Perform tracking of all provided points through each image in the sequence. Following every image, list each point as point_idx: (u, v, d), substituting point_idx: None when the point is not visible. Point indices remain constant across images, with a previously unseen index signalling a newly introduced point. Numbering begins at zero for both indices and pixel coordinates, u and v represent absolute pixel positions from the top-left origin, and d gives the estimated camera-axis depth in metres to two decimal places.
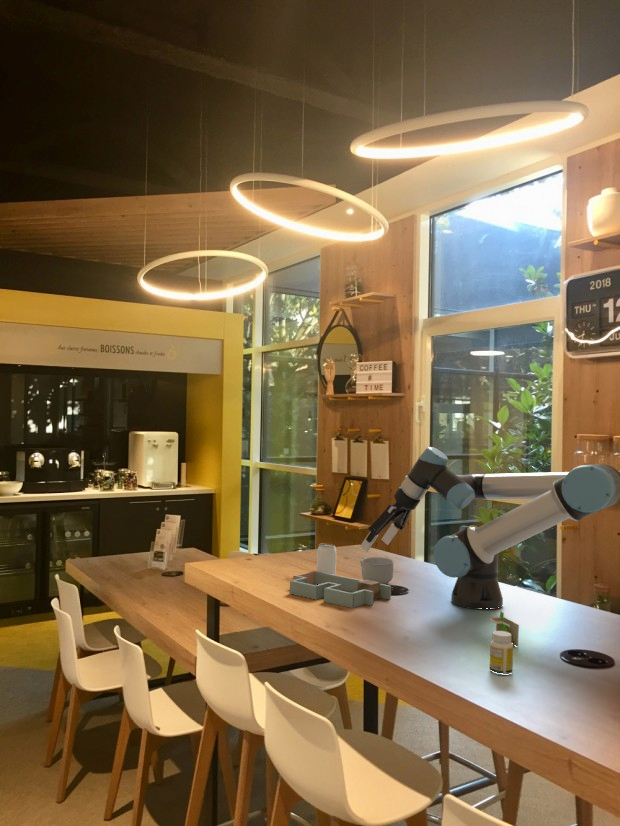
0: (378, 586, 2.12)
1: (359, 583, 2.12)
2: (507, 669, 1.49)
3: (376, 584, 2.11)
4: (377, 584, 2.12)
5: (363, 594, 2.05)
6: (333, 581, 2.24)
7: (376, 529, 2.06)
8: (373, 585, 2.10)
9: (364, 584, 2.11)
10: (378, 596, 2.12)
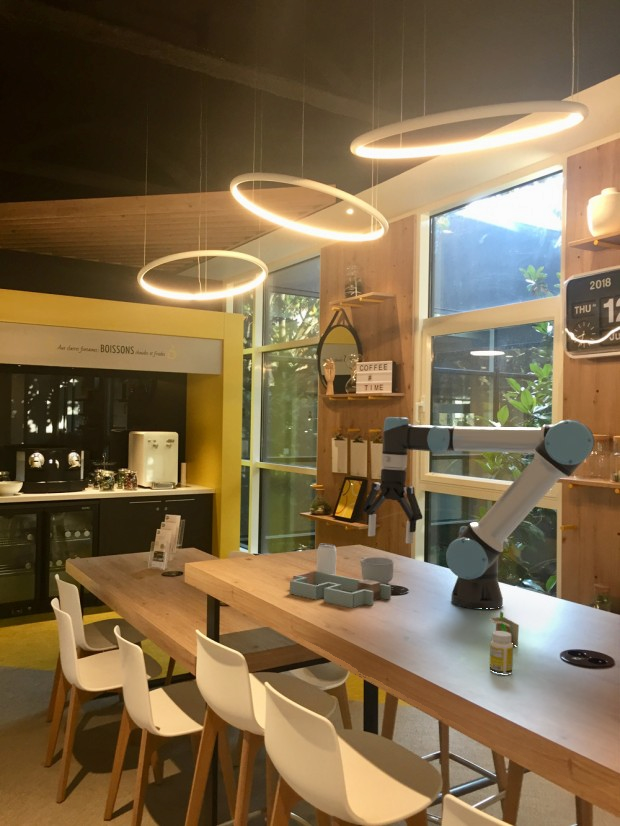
0: (378, 586, 2.12)
1: (359, 583, 2.12)
2: (507, 669, 1.49)
3: (376, 584, 2.11)
4: (377, 584, 2.12)
5: (363, 594, 2.05)
6: (333, 581, 2.24)
7: (420, 513, 2.03)
8: (373, 585, 2.10)
9: (364, 584, 2.11)
10: (378, 596, 2.12)
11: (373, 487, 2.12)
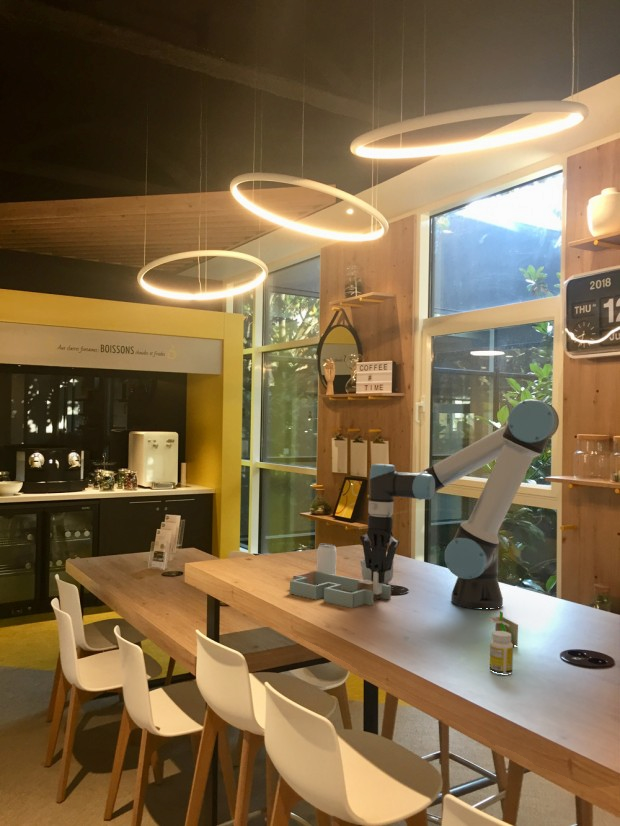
0: None
1: (359, 583, 2.12)
2: (507, 669, 1.49)
3: None
4: None
5: (363, 594, 2.05)
6: (333, 581, 2.24)
7: (390, 566, 2.09)
8: None
9: (364, 584, 2.11)
10: (378, 596, 2.12)
11: (363, 540, 2.13)
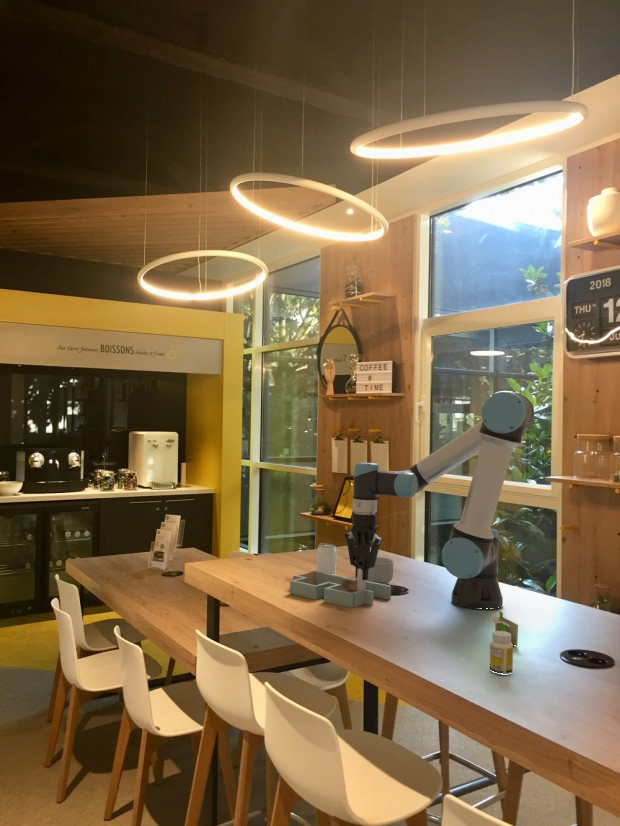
0: None
1: (344, 579, 2.16)
2: (507, 669, 1.49)
3: None
4: None
5: (363, 594, 2.05)
6: (333, 581, 2.24)
7: (374, 563, 2.12)
8: None
9: (348, 580, 2.14)
10: None
11: (347, 537, 2.17)
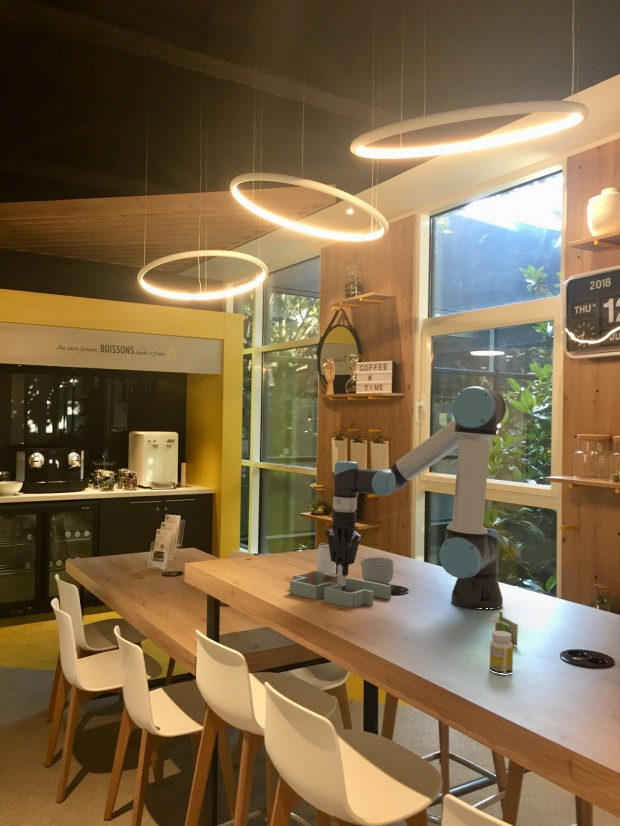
0: None
1: (324, 575, 2.20)
2: (507, 669, 1.49)
3: None
4: None
5: (363, 594, 2.05)
6: None
7: (354, 559, 2.17)
8: None
9: (329, 576, 2.19)
10: (343, 588, 2.21)
11: (328, 534, 2.21)
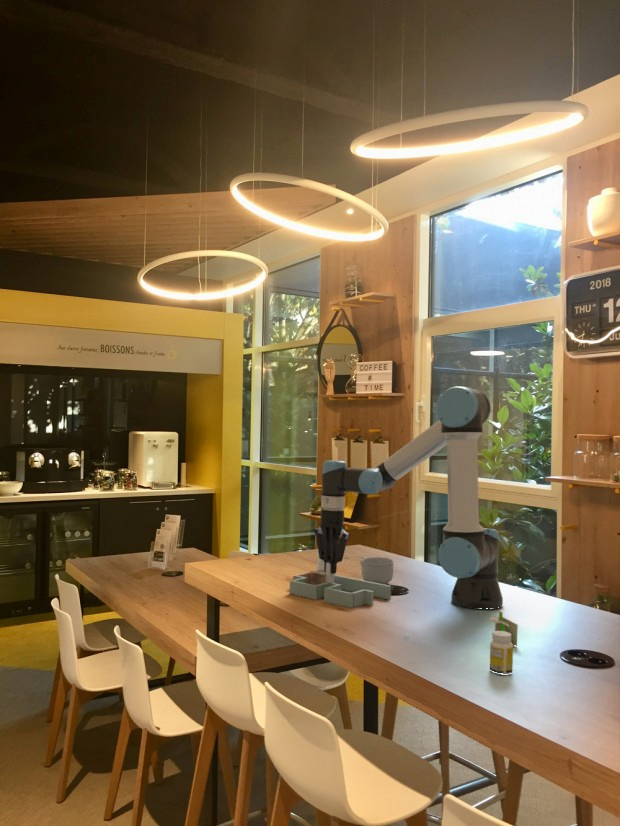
0: None
1: (313, 573, 2.23)
2: (507, 669, 1.49)
3: None
4: None
5: (363, 594, 2.05)
6: None
7: (342, 557, 2.20)
8: (325, 575, 2.21)
9: (317, 574, 2.22)
10: None
11: (316, 533, 2.24)
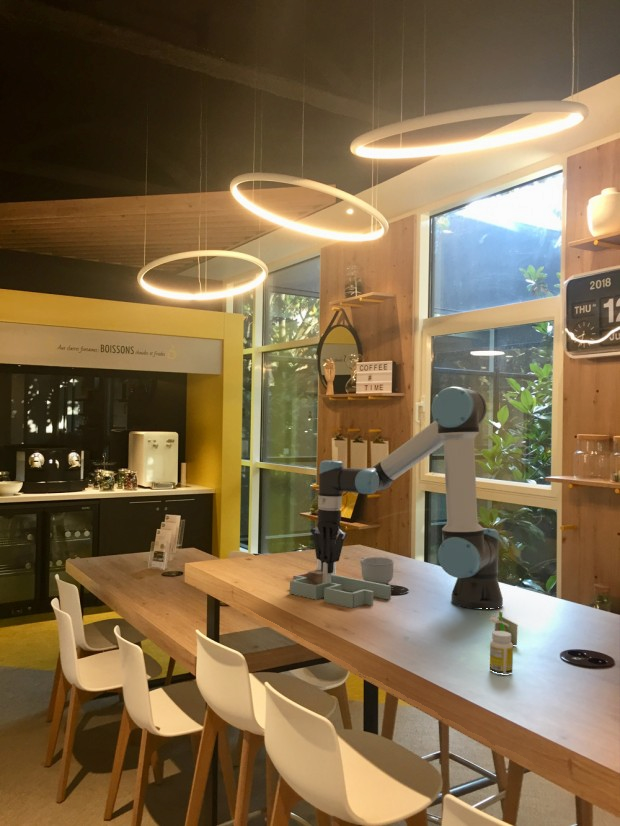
0: None
1: (309, 573, 2.24)
2: (507, 669, 1.49)
3: None
4: None
5: (363, 594, 2.05)
6: (333, 581, 2.24)
7: (339, 557, 2.21)
8: (322, 575, 2.22)
9: (314, 574, 2.23)
10: None
11: (313, 532, 2.25)
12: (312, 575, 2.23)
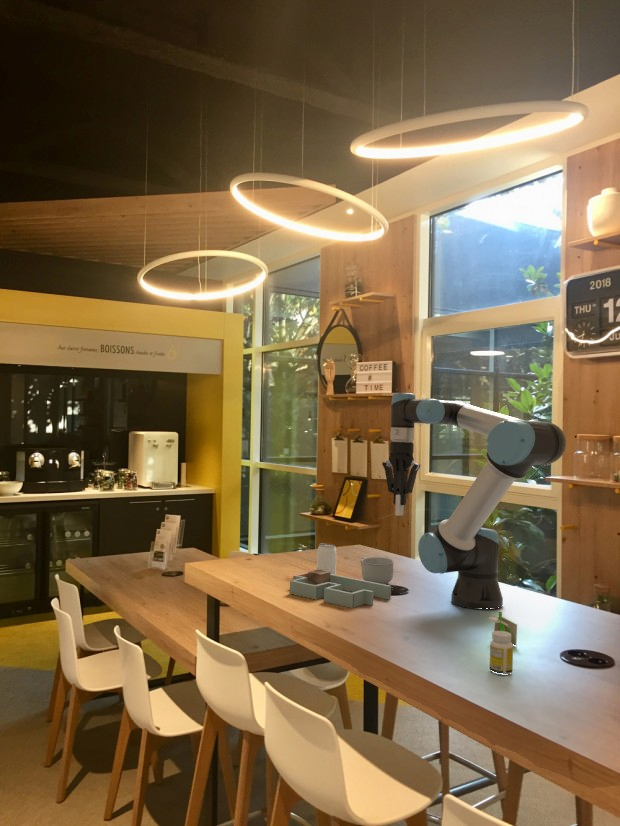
0: (328, 576, 2.24)
1: (310, 573, 2.24)
2: (507, 669, 1.49)
3: (326, 574, 2.23)
4: (327, 574, 2.24)
5: (363, 594, 2.05)
6: (333, 581, 2.24)
7: (412, 489, 2.21)
8: (323, 575, 2.22)
9: (314, 574, 2.23)
10: None
11: (385, 465, 2.25)
12: (312, 575, 2.23)
